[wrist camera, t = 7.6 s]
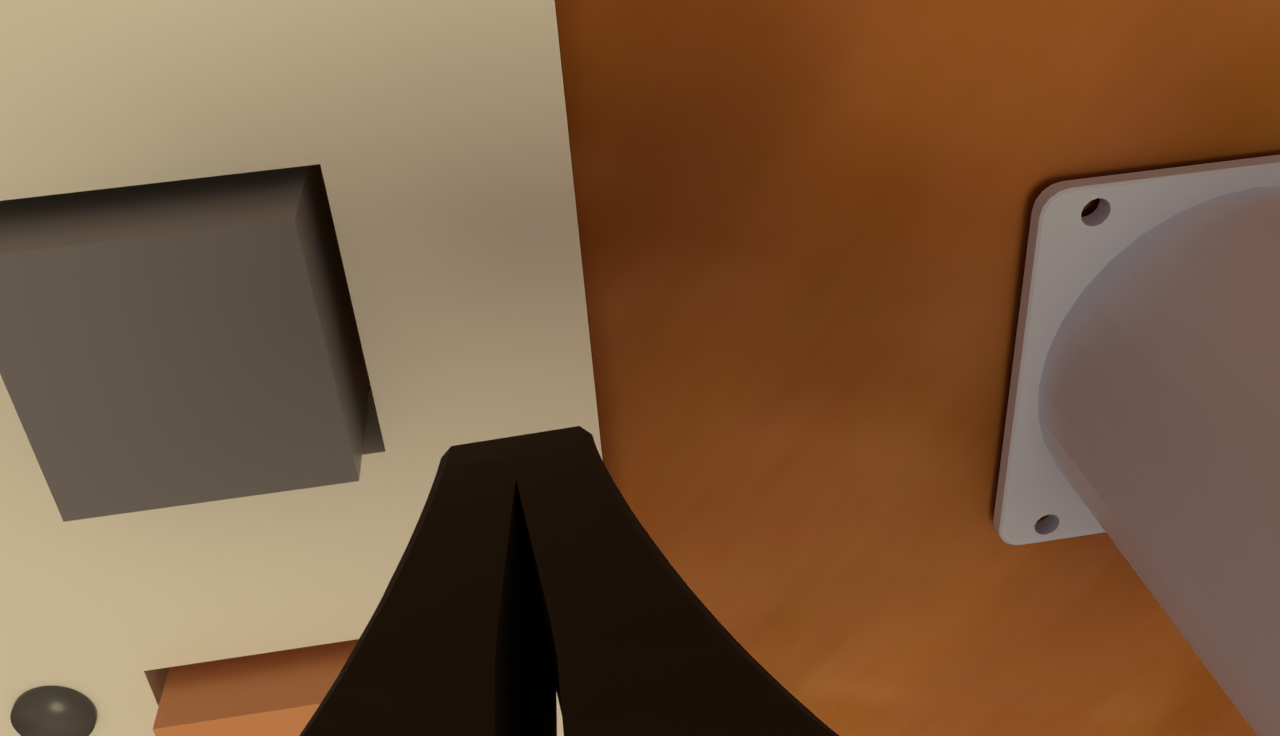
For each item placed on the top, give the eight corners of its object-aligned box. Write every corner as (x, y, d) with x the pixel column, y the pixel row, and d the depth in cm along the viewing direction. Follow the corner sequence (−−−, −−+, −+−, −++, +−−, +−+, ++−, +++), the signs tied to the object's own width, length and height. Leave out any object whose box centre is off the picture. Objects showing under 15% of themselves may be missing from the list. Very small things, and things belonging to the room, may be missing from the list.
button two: (315, 139, 18) (294, 219, 15) (370, 377, 20) (359, 480, 18) (22, 171, 18) (-49, 260, 15) (111, 411, 20) (63, 521, 17)
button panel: (531, -152, 16) (541, -126, 15) (656, 1013, 32) (669, 1094, 31) (-373, -67, 15) (-482, -28, 14) (217, 1091, 31) (203, 1179, 30)
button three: (414, 574, 23) (410, 689, 20) (449, 726, 25) (449, 846, 23) (185, 607, 22) (152, 729, 20) (242, 759, 25) (219, 885, 22)
